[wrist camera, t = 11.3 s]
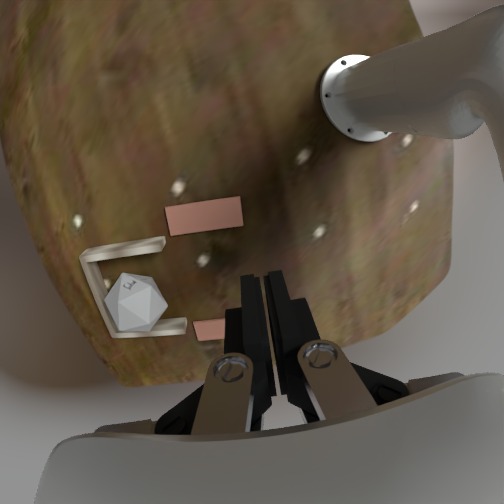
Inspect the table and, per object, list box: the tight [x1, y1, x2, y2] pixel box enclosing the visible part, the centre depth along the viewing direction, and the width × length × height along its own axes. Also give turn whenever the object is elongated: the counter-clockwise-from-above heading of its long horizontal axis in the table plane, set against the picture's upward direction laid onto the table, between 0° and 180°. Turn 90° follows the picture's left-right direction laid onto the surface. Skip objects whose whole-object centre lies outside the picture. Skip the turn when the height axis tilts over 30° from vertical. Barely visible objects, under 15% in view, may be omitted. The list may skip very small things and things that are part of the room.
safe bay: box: [79, 236, 187, 338], centre depth 39 cm, size 13×15×3 cm
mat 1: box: [165, 196, 244, 236], centre depth 37 cm, size 10×4×1 cm, turn 96°
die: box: [104, 273, 168, 332], centre depth 37 cm, size 8×9×10 cm
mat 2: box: [193, 318, 225, 341], centre depth 44 cm, size 10×4×1 cm, turn 96°
